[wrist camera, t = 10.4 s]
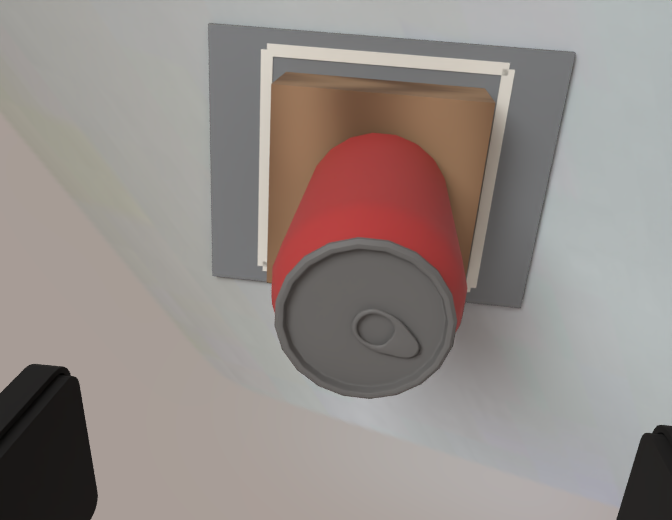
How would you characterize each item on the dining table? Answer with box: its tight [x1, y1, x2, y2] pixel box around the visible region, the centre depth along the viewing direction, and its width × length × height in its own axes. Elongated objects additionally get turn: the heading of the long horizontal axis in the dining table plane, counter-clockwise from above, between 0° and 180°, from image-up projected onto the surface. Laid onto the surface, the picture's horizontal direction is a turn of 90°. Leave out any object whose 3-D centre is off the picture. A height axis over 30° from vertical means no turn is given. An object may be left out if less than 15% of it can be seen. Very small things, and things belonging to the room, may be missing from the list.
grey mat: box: [208, 23, 576, 308], centre depth 34 cm, size 18×14×1 cm
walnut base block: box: [267, 72, 495, 283], centre depth 32 cm, size 10×10×4 cm
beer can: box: [272, 133, 467, 399], centre depth 24 cm, size 7×7×12 cm
